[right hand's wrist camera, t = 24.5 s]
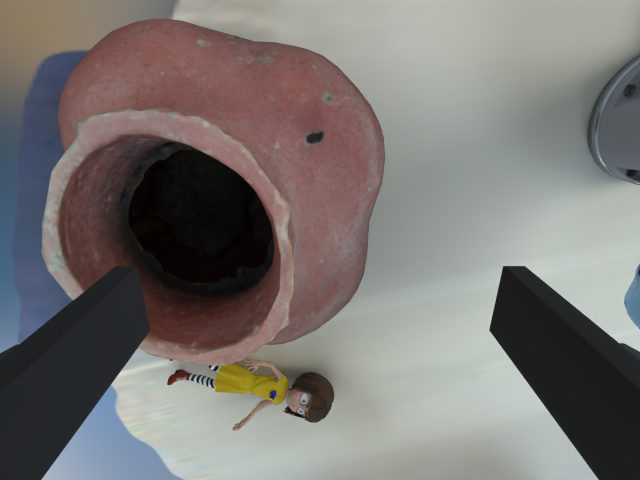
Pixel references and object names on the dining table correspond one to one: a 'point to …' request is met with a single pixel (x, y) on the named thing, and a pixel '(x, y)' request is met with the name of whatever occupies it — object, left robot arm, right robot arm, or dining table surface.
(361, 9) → the dining table surface
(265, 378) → the figurine
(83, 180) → the clay pot
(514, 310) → the right robot arm
